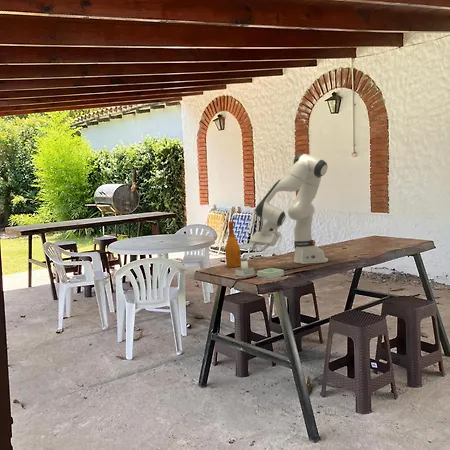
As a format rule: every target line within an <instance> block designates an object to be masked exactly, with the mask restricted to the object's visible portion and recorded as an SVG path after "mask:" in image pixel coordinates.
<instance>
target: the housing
mask: <svg viewBox="0 0 450 450" xmlns="http://www.w3.org/2000/svg"><path fill="white" fill-rule="evenodd" d="M237 275H238V277H242V276H243V277H244V278H246V277H250V276H254V275H255V269H254V268H252V267H251V268H250V267H248V270H241V268H237V269H235V276H237Z"/></svg>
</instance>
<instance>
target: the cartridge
mask: <svg viewBox="0 0 450 450" xmlns="http://www.w3.org/2000/svg"><path fill="white" fill-rule="evenodd" d="M248 268H249V264H248V258H247V257H241V265H240V269H241V270H248Z"/></svg>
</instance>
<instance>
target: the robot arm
mask: <svg viewBox="0 0 450 450" xmlns="http://www.w3.org/2000/svg"><path fill="white" fill-rule="evenodd" d="M327 171H328V163H327V162H326V161H325V160H323V159H322V158H321V159H320V158H319V157H317V156H314V155H311V154H307V153H304V152H299V153H297V154H296V155H295V156H294V158H293V165H292V167H290V170H289V171H288V173H287V174H286V176H285V177H284V178H282V179H278V180H277V181H276V182H275V183H274V184H273V185H272V187H270V189H269V190H268V191H267V193H266V194H265V195H264V197H263V198H262V199H261V201H259V203H258V204H257V205H256V207H255V210H254V211H255V214H256V215H257V217H259V218H261V219H264V220H266V222H265V223H264V225H263V227H262V228H261V230H258V231H256V232H255V233H253V235H251V238H250V239H249V241H250V243H251V247H250V249H251V250H252V251H254V250H255V249H256V246H262V247H261V248H260V250H261V251H262V252H265V251H266V249H268V248H269V247H274V246H275V245H276V244H277V242H278V241H279V238H280V237H281V234H280V233H279V232H278V229H279V228H280V227H281V226H282V225H283V224H284V222H285V221H286V218H287V216H286V212H285V211H284V210H282V209H281V208H279V207H277V206H274V205H273V204H270V202H271V201H272V199H274V197H275V196H276V194H277V193H279V192H289V193H291V192H293V193H294V192H297V191H298V192H297V195H296V196H295V198H294V200H293V202H292V203H291V206H289V208H288V210H287V215H288V217H289V219H292V220H294V221H296V222H295V225H294V229H293V231H294V233H293V234H294V240H293V241H294V242H293V246H294V247H293V248H294V258H293V263H295V264H302V265H304V264H306V265H308V264H319V263H327V262H329V258H328V257H326V256H325V253H324V252H325V251H324V250H322V249H321V248H320V247H318V246H317V245H316V241H315V240H314V239H312V224H313V216H314V213H315V206H314V205H313V203H312V202H313V201H314V199H315V198H316V196H317V192H318V190H319V187H320V184H321V181H322V177H323V176H325V175H326V172H327Z"/></svg>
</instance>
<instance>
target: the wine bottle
mask: <svg viewBox="0 0 450 450" xmlns="http://www.w3.org/2000/svg"><path fill="white" fill-rule="evenodd" d="M227 224H228V229H229V230H228V232H229V233H228V237H227V241H226V243H225V244H226V245H225V248H224V249H225V251H224V252H225V261H226V266H227V267H228V268H239V267H241V258H242V257H241V247H240V244H239V242H238V238H237V236H236V235H235V233H234V222H233V221H228V223H227Z"/></svg>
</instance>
